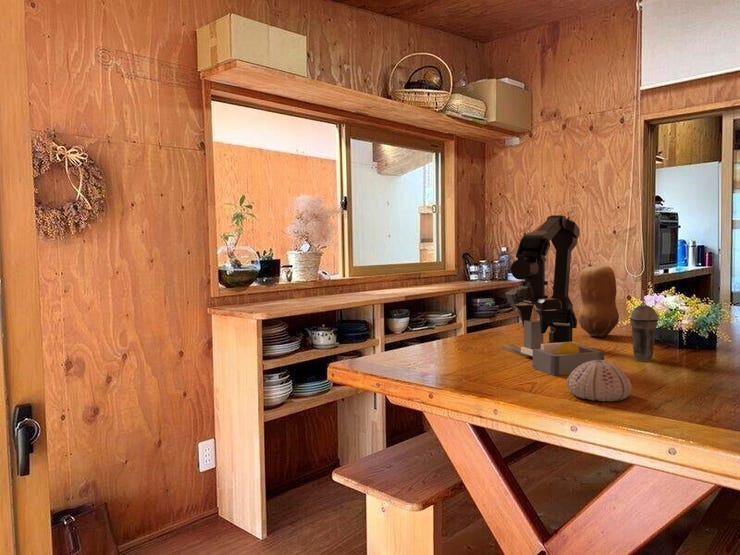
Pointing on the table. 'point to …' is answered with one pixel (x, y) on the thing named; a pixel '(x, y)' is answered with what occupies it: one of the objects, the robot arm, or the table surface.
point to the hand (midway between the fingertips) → (534, 330)
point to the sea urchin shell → (599, 381)
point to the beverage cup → (643, 331)
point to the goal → (564, 360)
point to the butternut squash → (598, 300)
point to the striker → (536, 339)
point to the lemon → (567, 348)
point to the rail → (515, 350)
